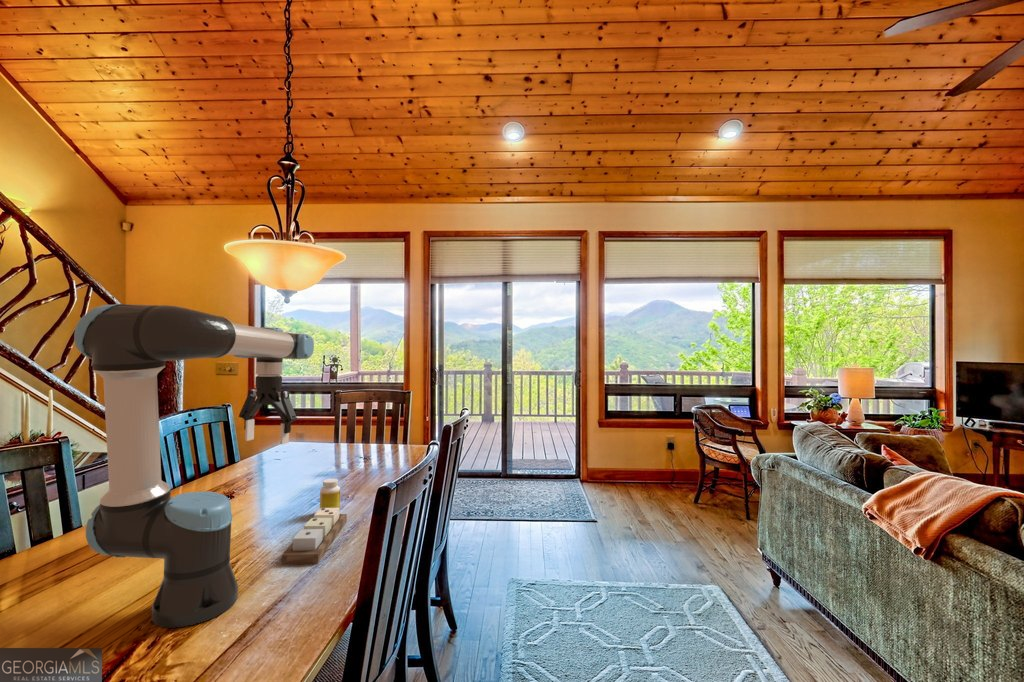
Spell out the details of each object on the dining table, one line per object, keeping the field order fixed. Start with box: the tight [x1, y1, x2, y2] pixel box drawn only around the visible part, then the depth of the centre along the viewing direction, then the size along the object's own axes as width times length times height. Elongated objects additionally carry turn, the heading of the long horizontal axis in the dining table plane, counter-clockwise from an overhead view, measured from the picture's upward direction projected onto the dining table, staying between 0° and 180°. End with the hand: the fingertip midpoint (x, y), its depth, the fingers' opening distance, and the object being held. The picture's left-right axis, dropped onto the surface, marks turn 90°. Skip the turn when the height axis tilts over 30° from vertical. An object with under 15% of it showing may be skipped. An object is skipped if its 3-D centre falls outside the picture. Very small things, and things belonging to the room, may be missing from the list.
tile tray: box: [281, 513, 348, 565], centre depth 127 cm, size 27×9×2 cm, turn 6°
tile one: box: [292, 528, 323, 551], centre depth 119 cm, size 6×6×3 cm
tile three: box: [313, 507, 341, 525], centre depth 135 cm, size 6×6×3 cm
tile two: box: [303, 517, 332, 537], centre depth 127 cm, size 6×6×3 cm
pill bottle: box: [319, 478, 341, 509], centre depth 148 cm, size 6×6×11 cm
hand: (266, 441), depth 141 cm, fingers open, 13 cm apart
